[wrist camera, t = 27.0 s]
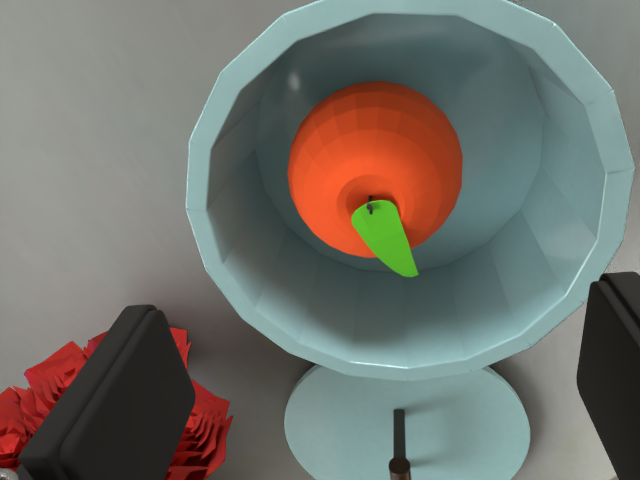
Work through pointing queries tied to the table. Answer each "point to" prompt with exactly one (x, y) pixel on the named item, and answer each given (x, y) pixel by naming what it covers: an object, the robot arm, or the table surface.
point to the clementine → (376, 171)
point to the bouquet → (57, 374)
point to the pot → (472, 204)
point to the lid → (406, 427)
